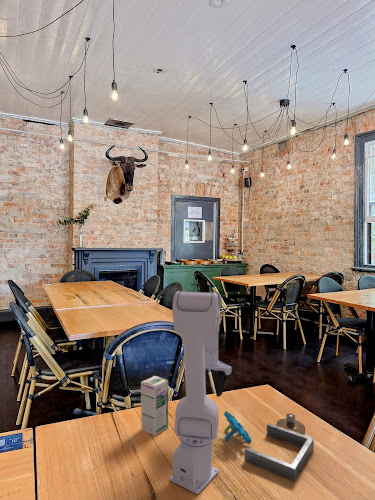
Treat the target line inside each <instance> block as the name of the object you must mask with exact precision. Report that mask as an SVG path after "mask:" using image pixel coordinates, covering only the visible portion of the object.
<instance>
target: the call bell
mask: <svg viewBox="0 0 375 500" xmlns="http://www.w3.org/2000/svg"><path fill="white" fill-rule="evenodd" d="M285 416H286V418H280V419H278V420H277V421H276V423H275V424H276V426H279V427H282V428H285V429H288V430H291V431H294V432H297V433H300V434H303V435H306V426H305V425H304V424H303V423H302V422H301V421H300V420H297V419H296V415H295V414H293V413H290V412H289V413H286V415H285Z"/></svg>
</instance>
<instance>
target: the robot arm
mask: <svg viewBox="0 0 375 500" xmlns="http://www.w3.org/2000/svg"><path fill="white" fill-rule="evenodd" d="M219 299H220V297H219V294H218V293H216V292H214V291H213V292H196V291H180V290H177V291H176V292H175V294H174V296H173V299H172V308H171V309H172V323H173V324H172V325H173V328H174V332H175V333H177V334H178V335H180V338H181V342H182V346H183V347H182V348H183V358H184V359H183V361H184V362H183V363H184V378H185V396H183V397H182V398H180V399H179V400H178V403H177V405H176V408H175V411H174V412H175V414H174V415H175V416H174V417H175V418H174V432H175V433H176V435H177V436H179V441H180V443H179V445H178V446H177V447H176V449H175V450H174V451H173V454H172V475H171V476H169V480H170V481H171V482H173V483H174V484H176V485H179V486H180V487H183V488H184V489H186V490H188V491H190V492H191V493H193V494H195V495H198V494H200V493H201V491H202V490H204V488H205V487H206V486H207V485H208V484H209V483H210V482H211V481H212V480H213V479H214V478H215V477H216V476H217V475H218V473H219V472H220V469H219V468H217V467H214V466H213V465H212V463H213V440H214V441H215V440H216V438H217V437H218V432H219V412H218V406H217V403H216V402H215V401H213V399H210V397H208V396H207V389H206V387H207V386H206V369H209V370H213V371H216V373H214V374H213V377H214V380H215V391H216V392H215V394H216V397H217V398H218V397H219V398H220V396H222V395H223V391H224V388H225V384H226V382H227V380H228V378H229V376H230V375H232V370H233V369H232V366H230V365H228V364H226V363H223V362H222V361H220V360H219V332H220V324H221V310H220V307H219V305H220V303H219V301H220V300H219Z"/></svg>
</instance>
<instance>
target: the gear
mask: <svg viewBox="0 0 375 500" xmlns="http://www.w3.org/2000/svg"><path fill="white" fill-rule="evenodd" d="M223 416H225V418H226V421H227V422H228V425H227V427H225V429H224V432H225V433H227V432H228V431H229V430H230V431H229V432H228V434H226V436H225V437H224V441H226V442H228V441H229V440H230V439H231V437H232V436H233V435H234V434H235V435H236V434H238V436H240V437H242V438H243V440H244V441H245V442H247V443H249V444H251V443H252V442H253V440H252V437H251V436H250V435H249V433H248V431H246V430H245V427H244V426H243V424H241V422H239V420H238V419H237V418H236V416H235V415H233V414H232V413H230V412H228V411H227V410H226V411H224V414H223Z"/></svg>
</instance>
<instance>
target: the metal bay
mask: <svg viewBox="0 0 375 500" xmlns="http://www.w3.org/2000/svg"><path fill="white" fill-rule="evenodd" d="M266 436H268V437H270V438H273V439H277V440H279V441H282V442H283V443H287V444H290V445H293V446H295V447H299V448H301V449H300V450H299V452H298V453H297V455H296V456H295V458H294V460H293V461H292V462H291V463H288V462H287V461H283V460H281V459H278V458H276V457H273V456H270V455H268V454H267V453H263V452H260V451H258V450H256V449H254V448H250V447H247V446H246V447H245V449H244V462H246V463H249V464H250V465H253V466H256V467H258V468H260V469H263V470H265V471H267V472H270V473H272V474H275V475H278V476H279V477H282V478H285V479H287V480H289V481H292V482H294V483H295V482H296V480H297V479H298V477H299V475H300V474H301V471H302V470H303V469H304V466H305V465H306V463H307V461H308V459H309V458H310V456H311V454H313V451H314V448H315V447H314V444H315V443H314V440H315V438H314V437H311V436H308V435H306V434H305V435H303V434H300V433H297V432H294V431H291V430H288V429H285V428H282V427H279V426H276V425H275V424H272V423H269V422H268V423H267V424H266Z"/></svg>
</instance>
